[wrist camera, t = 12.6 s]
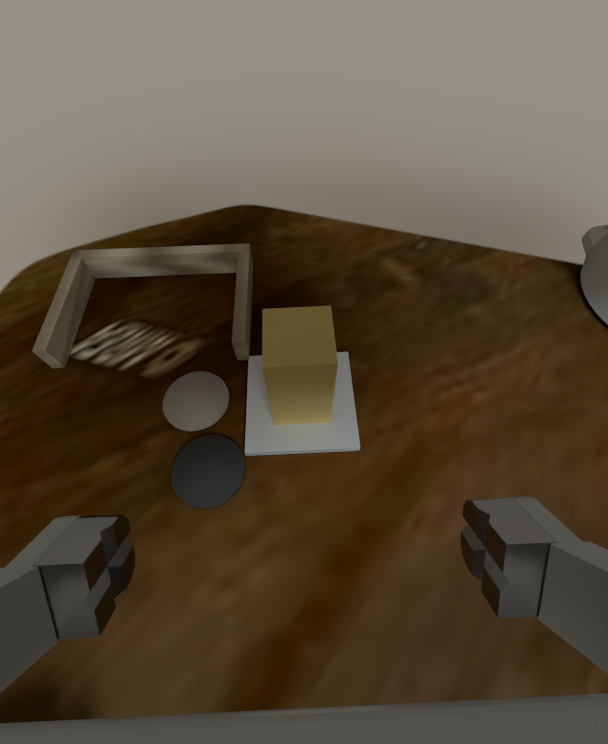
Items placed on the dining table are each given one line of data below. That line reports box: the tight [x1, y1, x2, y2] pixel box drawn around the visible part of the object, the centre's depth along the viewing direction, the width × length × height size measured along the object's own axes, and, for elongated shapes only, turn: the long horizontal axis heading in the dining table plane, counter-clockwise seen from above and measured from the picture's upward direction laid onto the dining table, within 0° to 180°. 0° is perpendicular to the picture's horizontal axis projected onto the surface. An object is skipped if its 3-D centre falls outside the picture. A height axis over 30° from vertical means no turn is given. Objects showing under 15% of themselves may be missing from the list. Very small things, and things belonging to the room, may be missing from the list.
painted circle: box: [163, 371, 229, 432], centre depth 27 cm, size 5×5×1 cm
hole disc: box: [171, 435, 245, 509], centre depth 25 cm, size 5×5×1 cm
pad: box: [245, 352, 360, 456], centre depth 27 cm, size 8×8×1 cm
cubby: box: [32, 244, 253, 368], centre depth 31 cm, size 16×11×2 cm
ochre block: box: [262, 306, 338, 425], centre depth 23 cm, size 4×4×8 cm
